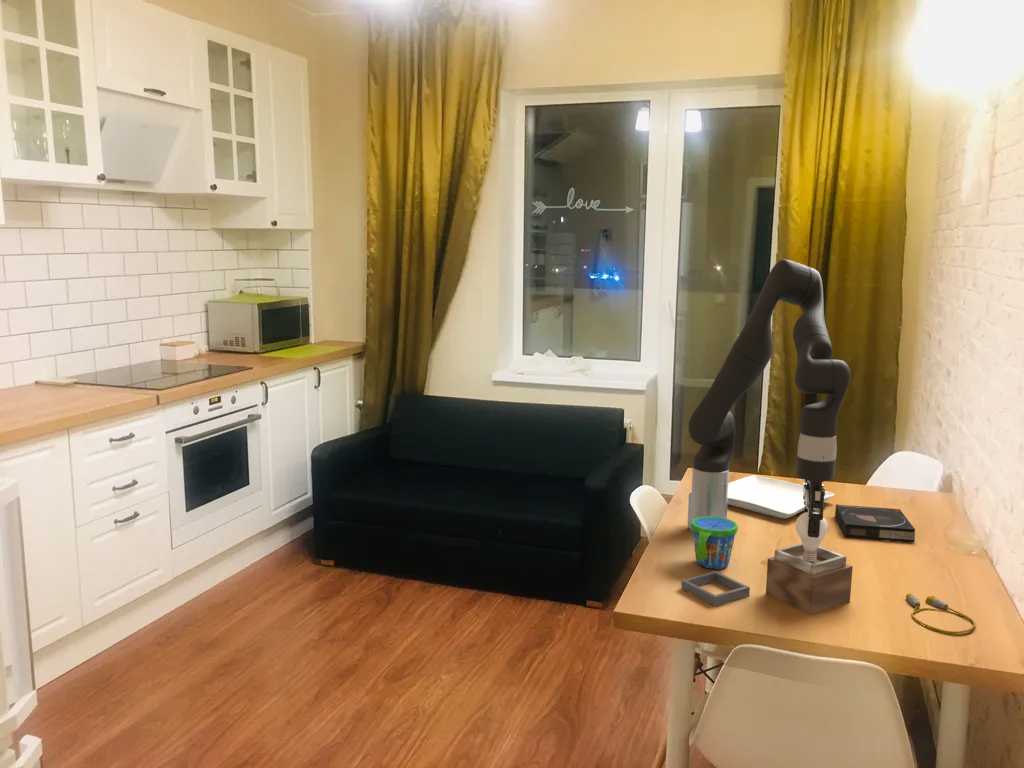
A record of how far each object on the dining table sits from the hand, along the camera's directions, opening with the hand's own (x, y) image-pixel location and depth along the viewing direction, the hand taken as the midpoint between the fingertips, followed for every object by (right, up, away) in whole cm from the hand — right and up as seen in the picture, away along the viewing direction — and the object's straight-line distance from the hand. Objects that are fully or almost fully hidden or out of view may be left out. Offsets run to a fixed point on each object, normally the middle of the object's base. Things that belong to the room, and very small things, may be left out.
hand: (810, 529), depth 170 cm
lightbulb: (0, -7, +1) cm, 7 cm away
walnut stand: (0, -15, +3) cm, 15 cm away
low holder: (-19, -14, +5) cm, 24 cm away
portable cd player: (+33, -9, +45) cm, 56 cm away
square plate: (+13, -5, +67) cm, 69 cm away
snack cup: (-15, -12, +21) cm, 29 cm away
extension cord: (+24, -17, -6) cm, 30 cm away
